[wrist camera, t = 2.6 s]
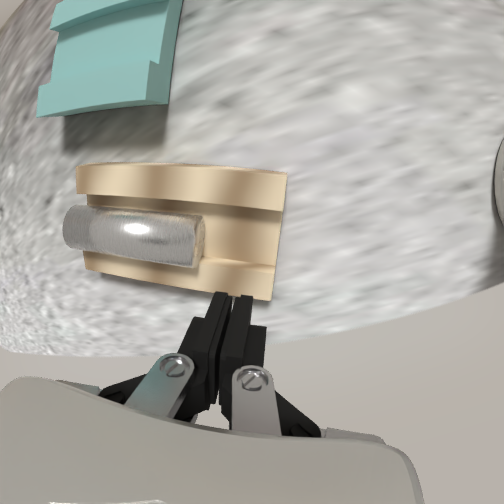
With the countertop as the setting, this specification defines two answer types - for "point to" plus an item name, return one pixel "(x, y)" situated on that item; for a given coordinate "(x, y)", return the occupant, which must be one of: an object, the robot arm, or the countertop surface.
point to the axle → (136, 234)
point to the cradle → (110, 55)
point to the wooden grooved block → (197, 203)
